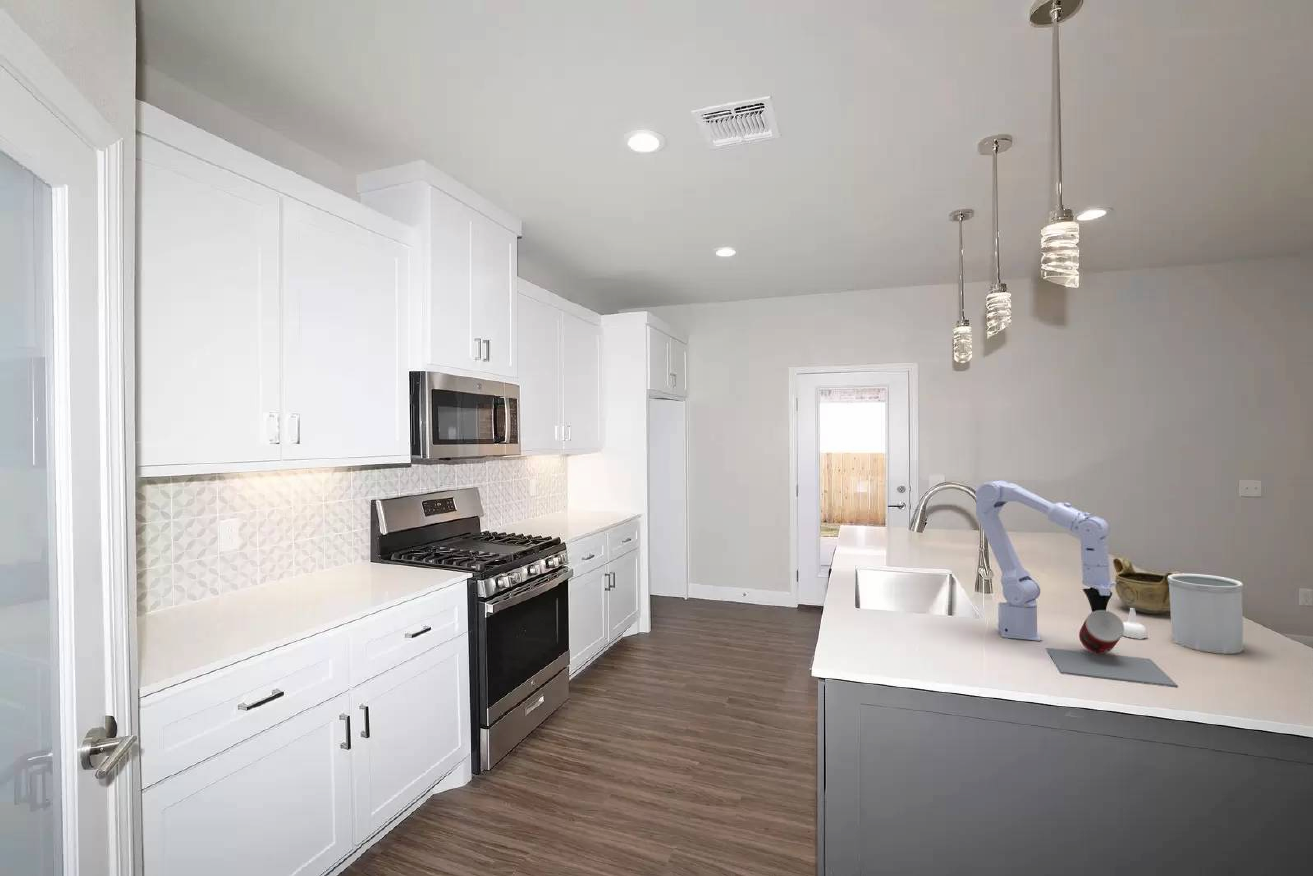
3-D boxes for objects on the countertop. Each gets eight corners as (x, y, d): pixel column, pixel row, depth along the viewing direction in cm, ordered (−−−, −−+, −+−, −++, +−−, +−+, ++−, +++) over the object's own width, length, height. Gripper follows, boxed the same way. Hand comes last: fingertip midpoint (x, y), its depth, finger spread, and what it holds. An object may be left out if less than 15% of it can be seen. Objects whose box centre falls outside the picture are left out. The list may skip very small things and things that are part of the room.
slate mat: (1060, 673, 141) (1060, 671, 141) (1046, 649, 157) (1046, 647, 157) (1177, 687, 133) (1177, 685, 133) (1150, 660, 148) (1150, 658, 148)
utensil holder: (1167, 646, 158) (1166, 580, 158) (1169, 632, 168) (1168, 570, 168) (1245, 659, 148) (1244, 589, 147) (1242, 643, 158) (1241, 578, 158)
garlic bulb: (1152, 642, 162) (1155, 613, 162) (1126, 639, 163) (1128, 610, 163) (1138, 635, 168) (1141, 607, 168) (1113, 631, 170) (1116, 604, 169)
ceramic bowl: (1094, 602, 198) (1094, 557, 198) (1142, 600, 199) (1142, 556, 199) (1155, 623, 176) (1154, 573, 176) (1209, 621, 177) (1208, 571, 177)
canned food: (1116, 629, 155) (1126, 615, 146) (1112, 659, 151) (1122, 646, 143) (1080, 619, 159) (1088, 605, 150) (1076, 648, 155) (1084, 635, 147)
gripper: (1123, 570, 145) (1127, 626, 145) (1105, 560, 158) (1109, 611, 158) (1088, 569, 148) (1092, 624, 147) (1074, 559, 161) (1077, 609, 161)
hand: (1099, 617), depth 153 cm, fingers closed, pressing on canned food
